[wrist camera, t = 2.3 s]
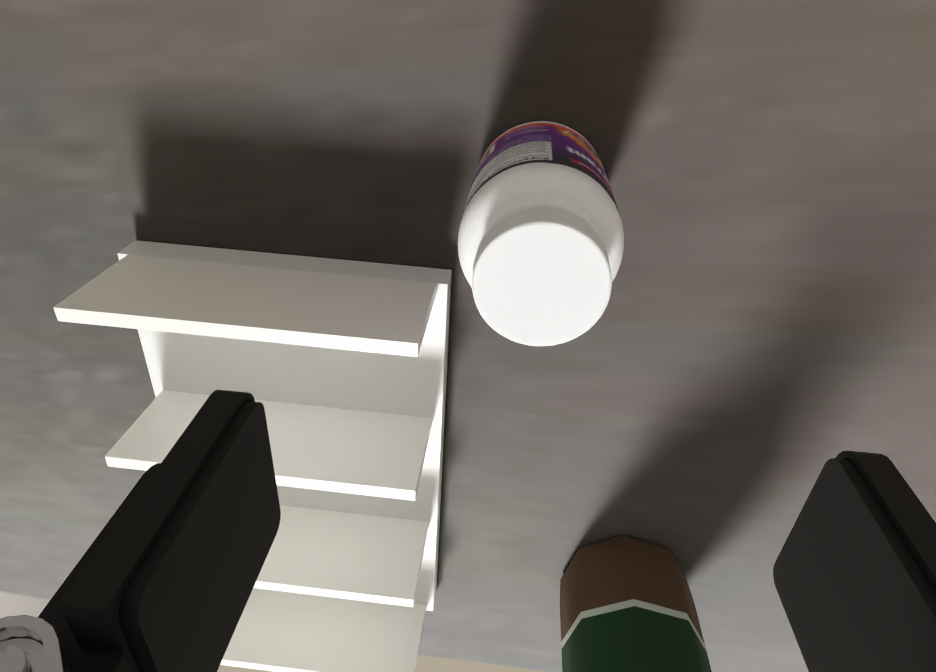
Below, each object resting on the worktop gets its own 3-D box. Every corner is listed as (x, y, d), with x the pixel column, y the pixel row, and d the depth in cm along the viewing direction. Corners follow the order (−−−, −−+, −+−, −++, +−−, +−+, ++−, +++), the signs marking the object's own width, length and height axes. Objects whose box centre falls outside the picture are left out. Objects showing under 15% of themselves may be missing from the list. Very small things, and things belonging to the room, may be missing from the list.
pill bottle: (622, 215, 26) (663, 332, 18) (506, 261, 28) (494, 389, 19) (576, 93, 24) (598, 162, 15) (453, 152, 25) (412, 243, 17)
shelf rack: (451, 269, 28) (431, 344, 22) (436, 590, 40) (420, 690, 35) (135, 240, 29) (40, 306, 23) (215, 564, 41) (165, 657, 35)
